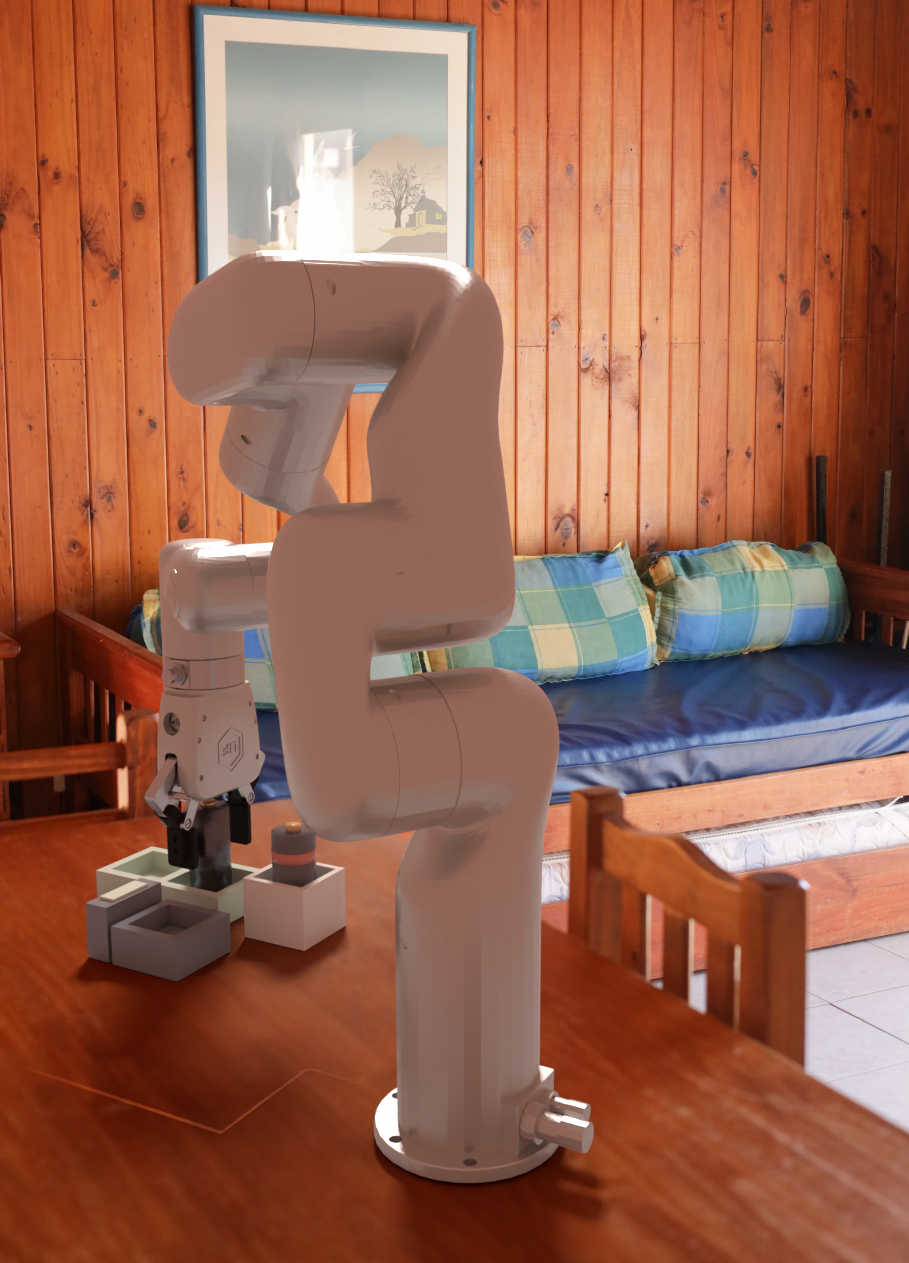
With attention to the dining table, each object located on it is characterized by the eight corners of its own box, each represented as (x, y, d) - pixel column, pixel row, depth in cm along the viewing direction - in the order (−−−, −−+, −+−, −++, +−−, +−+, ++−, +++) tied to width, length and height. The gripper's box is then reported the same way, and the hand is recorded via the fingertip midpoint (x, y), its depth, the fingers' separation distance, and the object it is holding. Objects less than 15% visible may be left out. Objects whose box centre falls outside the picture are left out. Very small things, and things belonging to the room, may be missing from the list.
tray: (271, 900, 131) (270, 871, 131) (219, 929, 124) (217, 898, 124) (153, 874, 138) (152, 846, 138) (97, 899, 132) (96, 870, 131)
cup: (345, 925, 125) (344, 819, 123) (304, 951, 119) (301, 840, 118) (287, 912, 128) (285, 809, 126) (244, 936, 123) (241, 829, 121)
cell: (241, 893, 130) (237, 797, 129) (214, 907, 127) (210, 809, 125) (208, 886, 132) (204, 792, 131) (181, 899, 129) (177, 803, 127)
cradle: (231, 951, 119) (229, 894, 119) (177, 981, 113) (174, 922, 112) (144, 929, 124) (141, 875, 123) (87, 957, 118) (84, 900, 117)
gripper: (173, 694, 116) (181, 890, 120) (292, 659, 131) (296, 834, 134) (107, 685, 120) (117, 876, 123) (231, 652, 135) (236, 823, 138)
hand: (210, 853), depth 129 cm, fingers open, 7 cm apart
